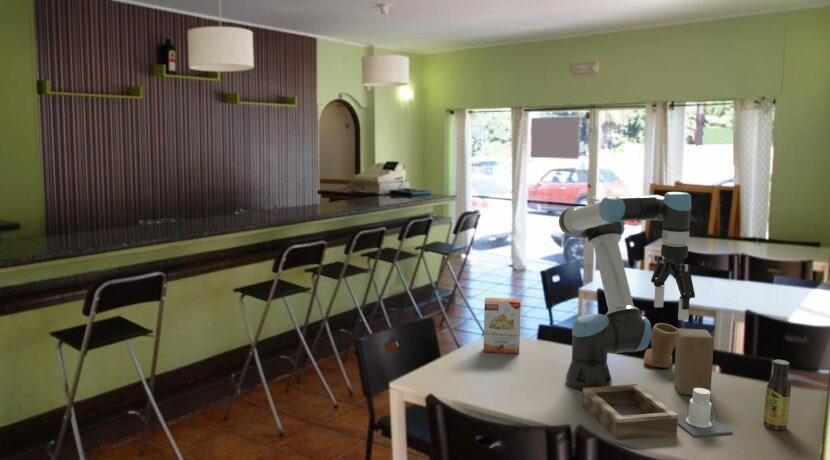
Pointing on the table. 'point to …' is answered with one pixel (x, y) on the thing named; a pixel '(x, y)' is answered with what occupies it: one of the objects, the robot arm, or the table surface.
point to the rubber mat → (698, 431)
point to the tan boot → (661, 345)
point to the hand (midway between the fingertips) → (670, 313)
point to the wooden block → (693, 360)
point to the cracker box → (502, 325)
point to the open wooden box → (629, 426)
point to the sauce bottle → (777, 397)
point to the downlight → (700, 408)
